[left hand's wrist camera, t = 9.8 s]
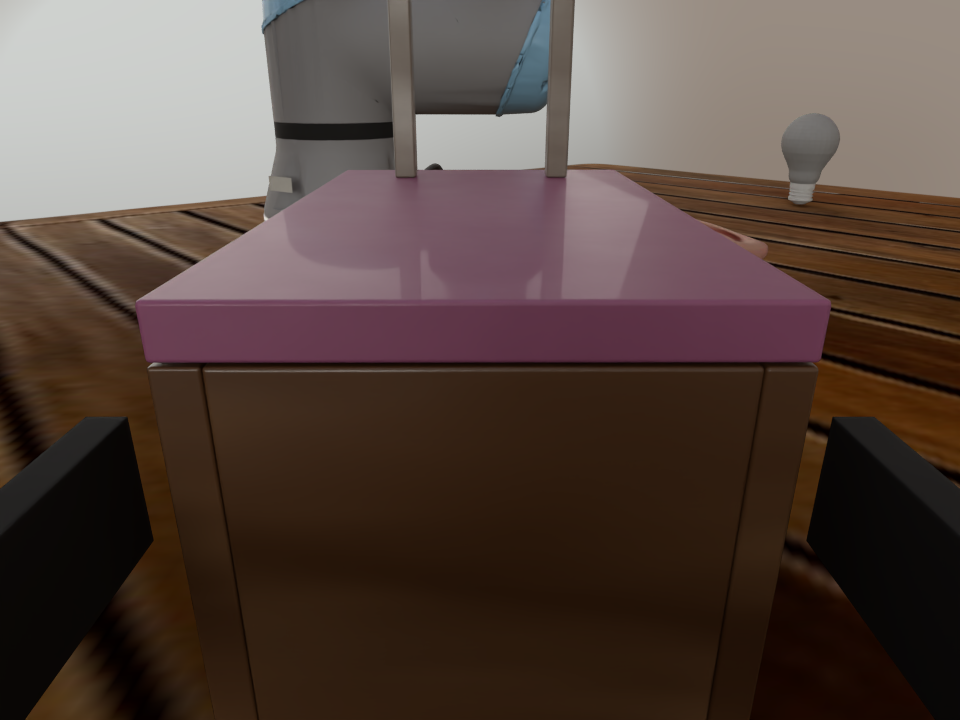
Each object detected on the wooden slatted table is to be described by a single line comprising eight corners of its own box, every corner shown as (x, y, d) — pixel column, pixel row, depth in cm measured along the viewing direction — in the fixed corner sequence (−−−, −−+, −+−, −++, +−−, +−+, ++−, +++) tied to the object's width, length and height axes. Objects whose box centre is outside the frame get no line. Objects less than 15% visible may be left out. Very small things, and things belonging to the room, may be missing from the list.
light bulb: (782, 207, 78) (797, 114, 74) (765, 199, 84) (778, 112, 80) (836, 208, 78) (854, 114, 74) (815, 199, 83) (831, 112, 79)
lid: (348, 196, 26) (330, -56, 23) (613, 196, 26) (631, -56, 23) (144, 364, 10) (-2, -376, 7) (822, 364, 10) (968, -376, 7)
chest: (360, 423, 28) (344, 200, 25) (601, 422, 28) (617, 200, 25) (227, 795, 13) (144, 368, 10) (737, 795, 13) (822, 367, 10)
